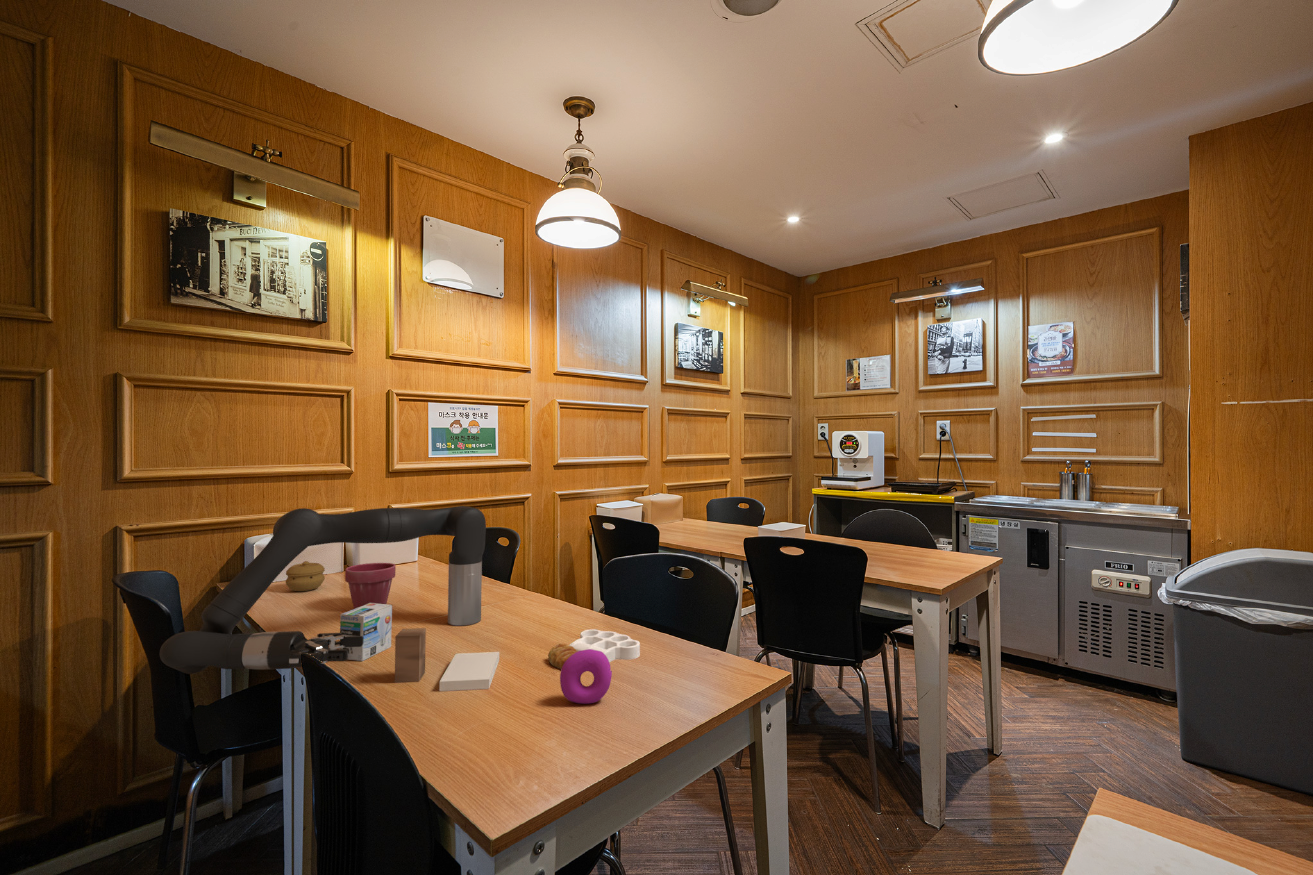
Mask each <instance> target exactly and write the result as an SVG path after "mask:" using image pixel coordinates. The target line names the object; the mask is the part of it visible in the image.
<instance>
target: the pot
mask: <svg viewBox="0 0 1313 875" xmlns="http://www.w3.org/2000/svg"><path fill="white" fill-rule="evenodd" d="M325 571H326V570H325V567H324V565H323V564H321V563H318V562H310V561H307V560H305V561H303V562H301V563H296V564H293V565H291V566H290V567H289V568H287V570H286V572H285V575H286V576H287V578H286V579H285V584H286V586H287V588H289V590H291V591H294V592H306V591H307V592H308V591H312V590H315V589H317V588H319V587H321V586H322V584H323V583H324V581H325V578H326V576H325V575H324V572H325Z"/></svg>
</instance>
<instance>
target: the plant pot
mask: <svg viewBox="0 0 1313 875" xmlns="http://www.w3.org/2000/svg"><path fill="white" fill-rule="evenodd" d="M396 569H397V568H396V564H395V563H392V562H371V563H362V564H356V565H350V566H348V567H346V568H345V570H344V571H345V572H344V573H345V575H344V581H345V582H346V583H348V588H349V594H350V597H351V598H350V599H351V601H352V602H351V603H352V605H353V609H356V608H358V607H361V606H364V605H366V604H369V603H376V604H387V603H388V599H389V596H390V590H391V586H392V582H393V579H394V578H396Z"/></svg>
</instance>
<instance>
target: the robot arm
mask: <svg viewBox="0 0 1313 875" xmlns="http://www.w3.org/2000/svg"><path fill="white" fill-rule="evenodd" d="M486 531H487V522H486V517H485V515H484V513H483V512H482V510H480V509H479V508H476V507H471V506H466V505H460V506H459V505H458V506H453V507H452V506H451V507H445V508H436V509H423V508H422V509H421V508H413V507H412V508H411V507H407V508H406V507H384V508H383V507H381V508H371V509H363V510H357V511H352V512H351V511H350V512H345V513H337V514H336V513H335V514H333V513H332V514H331V513H327V514H326V513H318V512H317V511H315V510H314V509H310V508H305V507H304V508H303V507H301V508H297V509H293V510H290V511H288V512H286V513H284V514H283V515H282V516H280V517H279V518H278V519H277V521H276V522H275V524H274V526H273V529H272V535H273V536H271V539H270V540H269V541H268V543H267V544H266V545H265V546H264V547H263V549H262V550H261V551H260V552H259V553H258V554H257V555H256V557H255V558H254V559H253V560H252V561H250V562H249V563H248V564H247V565H246V567H244V568H243V569H242V570H241V571H240V572H239V573H237V575H236V576H235V577H233V579H231V581H230V582H229V583H227V585H225V587H224V588H222V589H221V591H220V592H219V593H218V594H217V595H216V596H215V598H213V600H211V602H210V603H209V604H208V605H207V606H206V607H205V608H204V610H203V611H202V613H201V616H200V617H201V618H200V619H201V620H202V623H203V624H202V626H201V628H200V629H199V630H188V631H182V632H179V633H176V634H174V635H172V636H170V637H169V638H168V639H166V640H165V641H164V642H163V643H162V645H161V646H160V649H159V658H160V660H161V662H162V663H163V664H165V665H166V666H167V667H170V668H172V669H174V670H177V671H179V672H181V673H183V674H187V675H192V674H198V673H201V672H202V671H204V670H206V669H207V668H208V667H210V666H211V667H215V668H219V669H223V670H245V669H249V670H257V671H260V670H286V669H287V670H288V669H295V668H302V667H301V654H302V653H308V654H311V656H314V657H315V658H317V659H318V660H320V661H322V662H323V663H322V664H326V663H328V662H346V661H347V660H348V650H347V649H340V648H343V647H361V646H362V645H363V642H364V637H363V636H346V632H342V633H340V632H324V633H323V632H321V633H317V635H316V636H313V637H311V638H309V639H307V638H306V636H305V634H304V633H303V631H300V630H295V631H294V630H293V631H291V630H289V631H284V630H283V631H264V632H262V631H261V632H256V633H235V634H232V633H233V630H234V628H235V627H236V626H237V625H238V624H239V622H240V621H241V620H242V619H243V618H244V617H245V616H246V615H247V614H248V612H249V611H250V610H251V609H252V607H253V606H254V605H255V604H256V603H257V602H258V600H260V598H261V597H262V596H263V595H264V593H265V592H266V590H268V588H269V587H270V585H272V584H273V582H274V581H275V580H276V579H277V577H278V576H279V575H280V574H281V573H282V572H283V571H284V570H285V569H286V568H287V567H288V566H289V564H290V563H292V561H293V560H294V559H296V558H297V557H298V556H299V555H300V554H301V553H303V552H304V550H306V549H307V548H308V547H313V546H320V545H327V544H328V545H329V544H337V543H338V544H339V543H340V544H341V543H343V544H344V543H345V544H346V543H347V544H387V543H390V544H391V543H401V542H402V543H403V542H406V541H412V540H415V539H418V538H422V537H426V536H449V537H450V536H451V537H454V545H453V550H452V551H450V552H449V554H448V581H447V583H448V584H447V585H448V586H447V590H448V591H447V592H448V593H447V623H448V624H449V625H452V626H469V625H474V624H476V623H477V624H478V623H479V622H480V621H481V620H482V587H483V584H482V580H483V578H482V577H483V571H482V570H483V568H482V567H483V566H482V565H483V554H484V553H485V550H486V549H485V547H486V534H487V532H486Z"/></svg>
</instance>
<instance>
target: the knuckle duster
mask: <svg viewBox="0 0 1313 875" xmlns="http://www.w3.org/2000/svg"><path fill="white" fill-rule="evenodd" d="M568 646H572V647H574V649H576V651H577V652H578V651H582V650H587V649H593V650H597V651H601V652H603V653H604V654H605V655H606V657H607V658H608V660H609V663H611V662H613V661H617V660H622V661H623V660H625V661H626V660H627V661H629V660H635V659H637V658H639V657H640V654H641V643H640V641H639V640H636V639H632V638H631V636H629V635H627V634H623V633H622V634H621V633H618V632H616V631H610V630H609V631H608V630H607V631H605V630H599V629H597V628H594V629H592V628H591V629H585V630H583V631H581V632H580V634H579V638H578V639H576V640H574V641H573V642H571V643H570V644H569V645H568Z"/></svg>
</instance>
